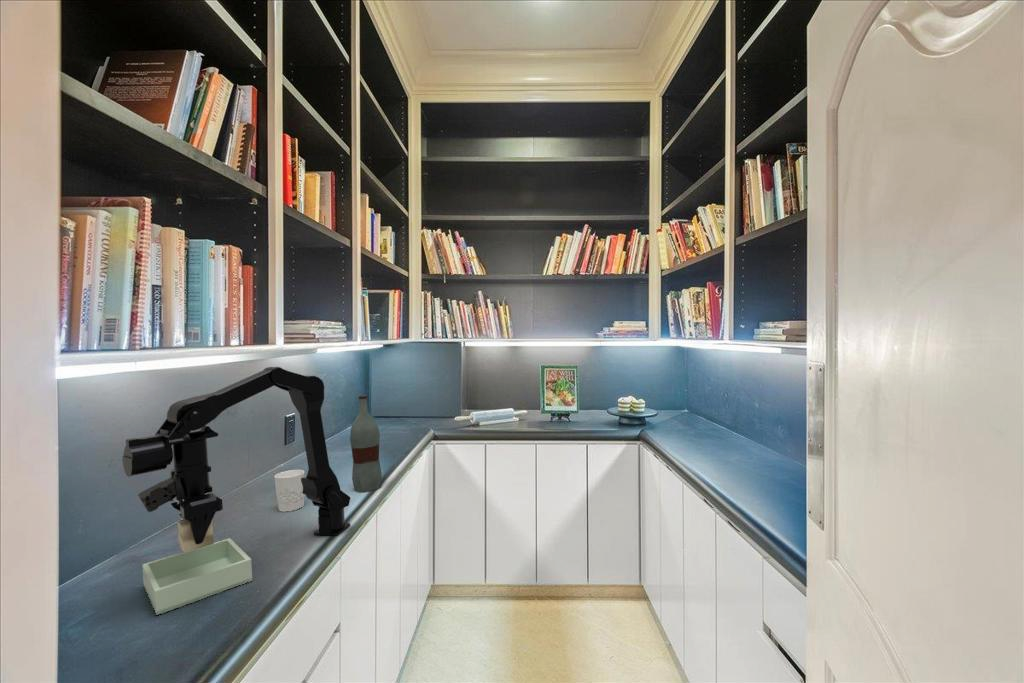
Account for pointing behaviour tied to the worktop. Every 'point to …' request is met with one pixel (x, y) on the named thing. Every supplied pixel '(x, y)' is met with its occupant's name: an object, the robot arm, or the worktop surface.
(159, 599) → the sage bin
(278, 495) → the white cup
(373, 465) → the bottle
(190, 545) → the birch block
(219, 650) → the worktop surface
